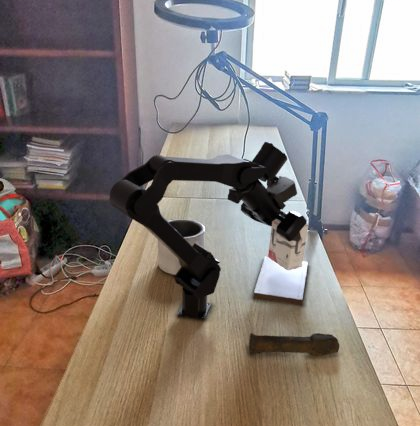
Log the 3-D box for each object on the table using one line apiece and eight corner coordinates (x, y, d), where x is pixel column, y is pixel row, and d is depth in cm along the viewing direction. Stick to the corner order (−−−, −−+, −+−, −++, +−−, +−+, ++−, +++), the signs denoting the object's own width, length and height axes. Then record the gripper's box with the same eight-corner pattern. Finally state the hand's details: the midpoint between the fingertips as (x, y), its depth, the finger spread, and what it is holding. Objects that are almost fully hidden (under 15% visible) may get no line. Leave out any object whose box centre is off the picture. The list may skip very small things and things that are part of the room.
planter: (180, 282, 125) (180, 243, 119) (148, 265, 132) (146, 227, 126) (213, 266, 133) (215, 228, 127) (182, 250, 140) (182, 214, 134)
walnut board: (301, 305, 119) (302, 299, 118) (253, 297, 121) (253, 292, 120) (307, 266, 135) (308, 261, 134) (264, 260, 137) (264, 255, 136)
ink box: (266, 257, 128) (272, 214, 121) (281, 254, 130) (287, 211, 123) (287, 271, 122) (294, 227, 115) (302, 267, 124) (310, 223, 118)
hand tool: (248, 356, 102) (250, 339, 99) (248, 344, 105) (250, 327, 102) (339, 362, 101) (343, 344, 99) (336, 350, 105) (340, 332, 102)
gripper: (306, 181, 103) (335, 221, 114) (254, 157, 116) (285, 195, 127) (272, 223, 104) (304, 258, 115) (225, 194, 117) (257, 228, 128)
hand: (288, 233), depth 121 cm, fingers closed on ink box, 8 cm apart
